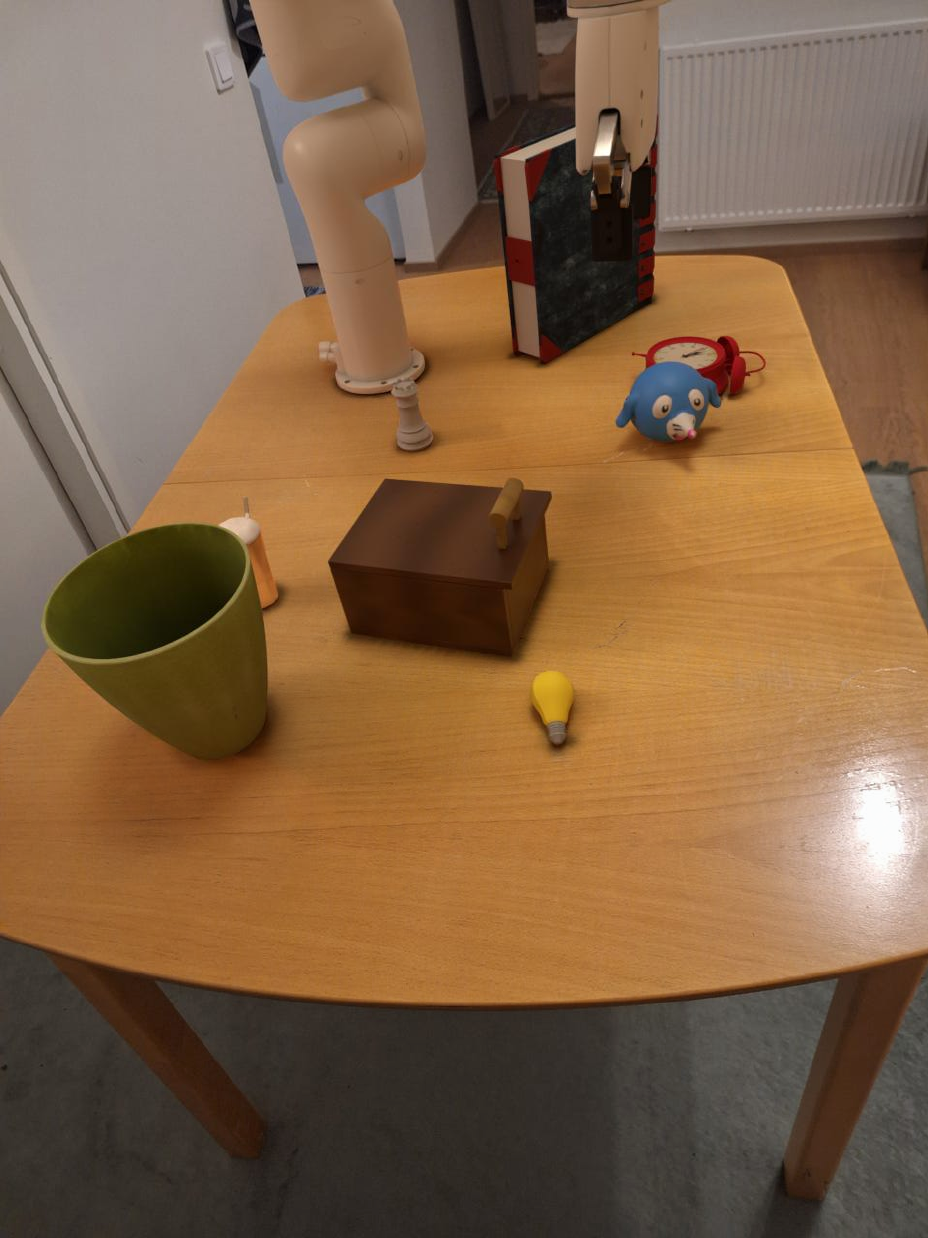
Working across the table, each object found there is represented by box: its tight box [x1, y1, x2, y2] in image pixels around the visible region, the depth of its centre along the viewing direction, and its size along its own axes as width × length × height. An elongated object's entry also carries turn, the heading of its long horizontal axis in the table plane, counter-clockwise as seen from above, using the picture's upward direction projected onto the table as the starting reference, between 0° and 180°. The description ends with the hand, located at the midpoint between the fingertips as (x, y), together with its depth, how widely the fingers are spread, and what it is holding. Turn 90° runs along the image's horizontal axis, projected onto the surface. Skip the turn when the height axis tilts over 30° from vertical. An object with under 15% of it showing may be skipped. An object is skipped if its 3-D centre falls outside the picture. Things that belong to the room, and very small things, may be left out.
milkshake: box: [218, 496, 279, 609], centre depth 77 cm, size 5×5×10 cm
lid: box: [327, 477, 553, 590], centre depth 69 cm, size 16×13×5 cm
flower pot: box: [40, 521, 269, 761], centre depth 63 cm, size 15×15×16 cm
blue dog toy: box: [614, 361, 722, 443], centre depth 87 cm, size 12×12×8 cm
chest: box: [329, 514, 550, 658], centre depth 73 cm, size 16×13×8 cm
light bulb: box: [529, 670, 575, 745], centre depth 63 cm, size 3×6×4 cm, turn 1°
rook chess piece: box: [390, 377, 434, 452], centre depth 95 cm, size 4×4×8 cm
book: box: [493, 114, 659, 365], centre depth 107 cm, size 25×7×25 cm, turn 132°
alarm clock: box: [631, 335, 767, 395], centre depth 97 cm, size 10×6×15 cm
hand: (622, 237), depth 68 cm, fingers open, 9 cm apart
